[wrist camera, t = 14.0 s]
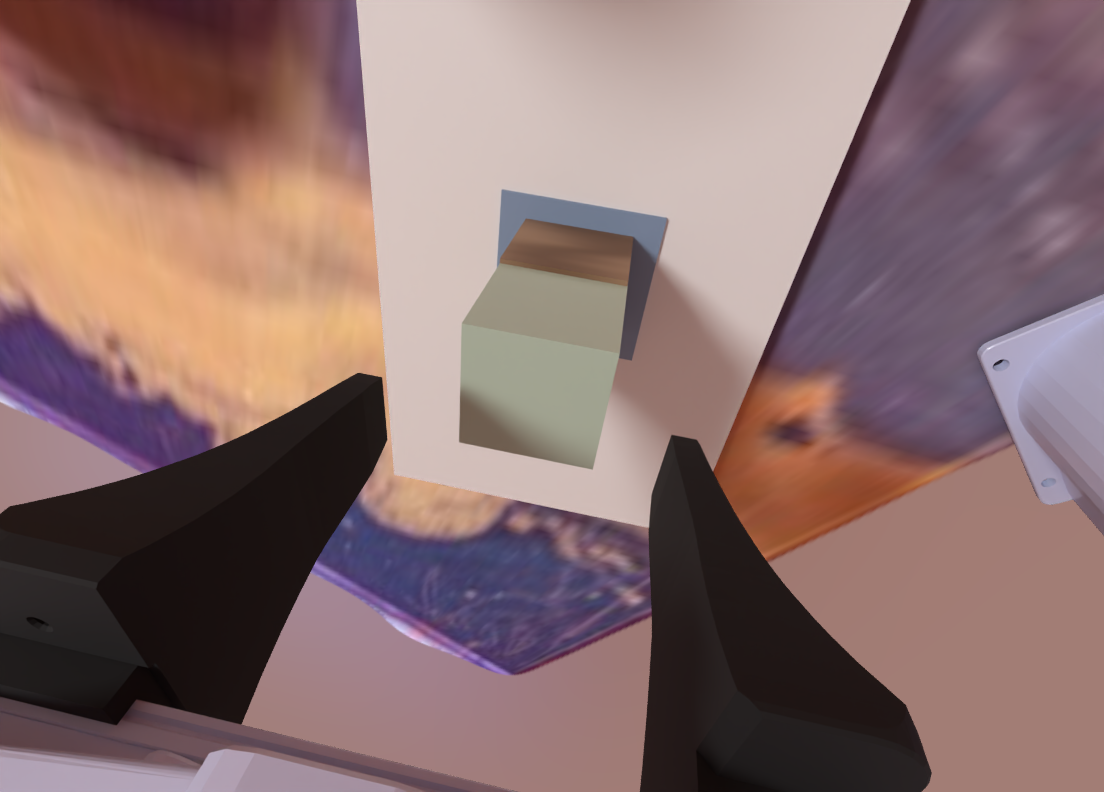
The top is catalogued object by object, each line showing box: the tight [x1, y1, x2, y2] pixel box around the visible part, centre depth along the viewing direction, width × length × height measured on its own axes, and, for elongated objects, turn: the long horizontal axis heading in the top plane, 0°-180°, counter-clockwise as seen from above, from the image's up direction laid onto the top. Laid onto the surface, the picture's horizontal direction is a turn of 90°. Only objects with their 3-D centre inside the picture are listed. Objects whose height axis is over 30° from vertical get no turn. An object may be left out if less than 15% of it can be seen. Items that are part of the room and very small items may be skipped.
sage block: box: [459, 263, 628, 470], centre depth 16 cm, size 4×4×4 cm
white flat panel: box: [356, 0, 911, 528], centre depth 21 cm, size 16×26×1 cm, turn 173°
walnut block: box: [500, 218, 633, 286], centre depth 19 cm, size 4×4×4 cm
